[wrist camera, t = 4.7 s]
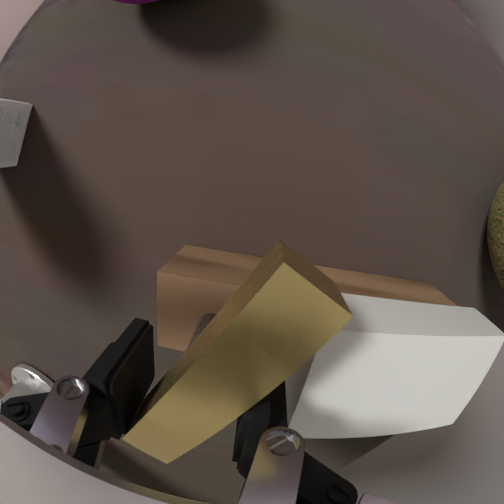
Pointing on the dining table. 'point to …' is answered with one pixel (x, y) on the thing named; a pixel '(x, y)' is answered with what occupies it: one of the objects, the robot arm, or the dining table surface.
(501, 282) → the fruit
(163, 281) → the housing
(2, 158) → the syrup box
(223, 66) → the dining table surface
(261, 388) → the golden rectangular block
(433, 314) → the cover
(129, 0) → the christmas ornament
